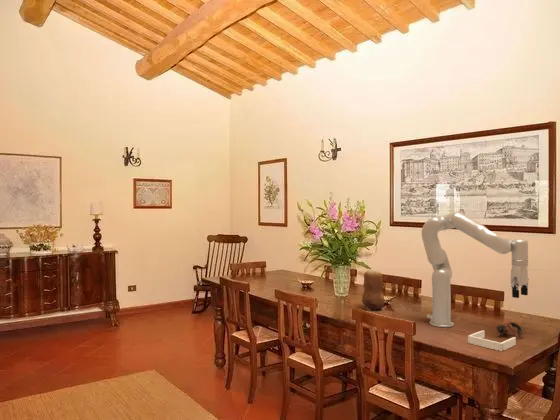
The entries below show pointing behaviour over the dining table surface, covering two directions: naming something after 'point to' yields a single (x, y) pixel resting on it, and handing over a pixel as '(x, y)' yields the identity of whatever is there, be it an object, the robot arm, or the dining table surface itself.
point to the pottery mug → (503, 329)
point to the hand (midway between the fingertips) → (520, 296)
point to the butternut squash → (373, 290)
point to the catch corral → (478, 340)
